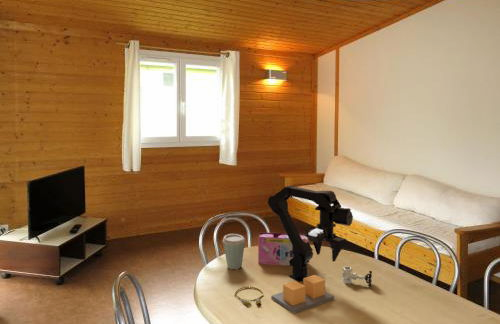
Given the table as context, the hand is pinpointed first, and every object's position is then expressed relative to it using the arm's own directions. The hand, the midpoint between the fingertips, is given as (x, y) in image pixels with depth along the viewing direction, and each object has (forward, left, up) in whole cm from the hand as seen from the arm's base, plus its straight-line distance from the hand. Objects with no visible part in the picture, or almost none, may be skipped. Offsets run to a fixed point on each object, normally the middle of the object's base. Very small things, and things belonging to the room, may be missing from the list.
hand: (325, 257), depth 166 cm
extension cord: (-9, -32, -13) cm, 36 cm away
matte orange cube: (+5, -21, -11) cm, 24 cm away
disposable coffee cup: (-38, -22, -12) cm, 46 cm away
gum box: (-30, +1, -12) cm, 33 cm away
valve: (+6, +12, -12) cm, 18 cm away
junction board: (+4, -16, -12) cm, 20 cm away
